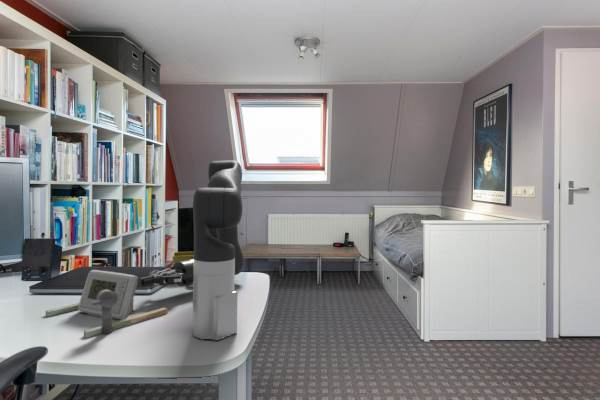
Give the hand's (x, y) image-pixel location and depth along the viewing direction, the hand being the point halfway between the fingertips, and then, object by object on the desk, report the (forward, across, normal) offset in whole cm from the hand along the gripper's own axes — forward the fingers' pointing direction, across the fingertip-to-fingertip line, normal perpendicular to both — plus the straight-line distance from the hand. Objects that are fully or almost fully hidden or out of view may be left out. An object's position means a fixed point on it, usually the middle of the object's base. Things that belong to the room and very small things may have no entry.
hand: (139, 282), depth 101 cm
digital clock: (+9, 0, +7) cm, 11 cm away
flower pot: (-27, -16, +7) cm, 32 cm away
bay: (+9, +1, +6) cm, 11 cm away
